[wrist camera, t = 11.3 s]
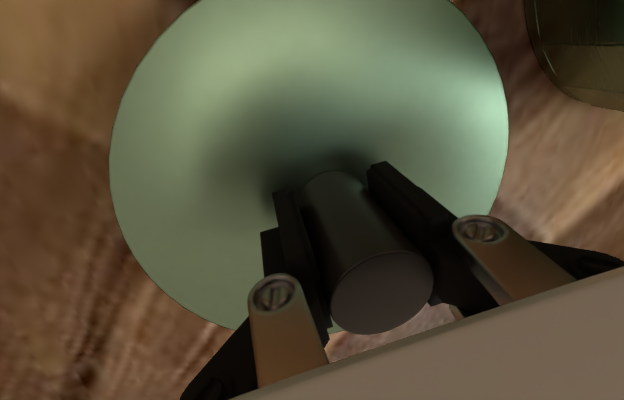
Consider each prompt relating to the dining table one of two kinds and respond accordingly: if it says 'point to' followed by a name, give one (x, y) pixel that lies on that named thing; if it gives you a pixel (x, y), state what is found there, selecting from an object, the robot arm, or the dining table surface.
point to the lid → (303, 146)
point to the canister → (581, 47)
